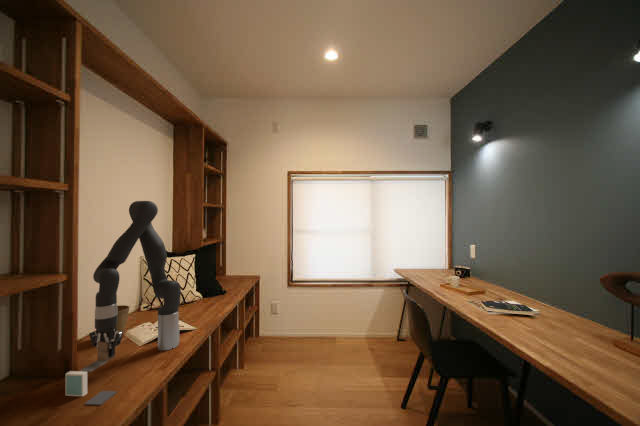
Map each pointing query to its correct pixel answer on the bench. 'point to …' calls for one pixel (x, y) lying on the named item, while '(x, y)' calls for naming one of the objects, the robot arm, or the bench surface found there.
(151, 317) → the bench surface
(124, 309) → the plant pot
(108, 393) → the mat
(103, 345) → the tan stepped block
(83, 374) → the slab tile
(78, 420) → the bench surface
